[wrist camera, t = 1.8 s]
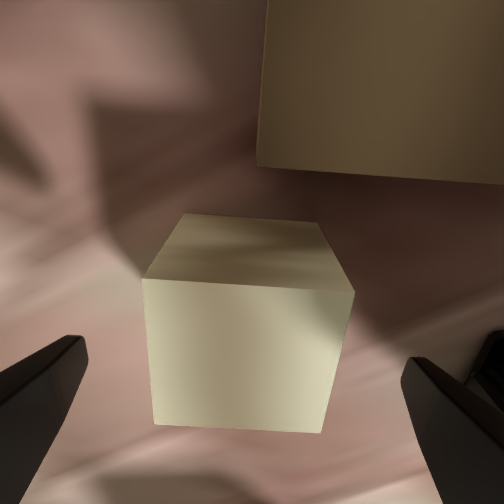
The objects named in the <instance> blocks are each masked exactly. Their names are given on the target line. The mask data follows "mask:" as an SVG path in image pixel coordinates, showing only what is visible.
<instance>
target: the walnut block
mask: <svg viewBox="0 0 504 504" xmlns="http://www.w3.org/2000/svg"><path fill="white" fill-rule="evenodd" d="M256 164H257V167H268V168H282V169H295V170H308V171H322V172H335V173H349V174H362V175H375V176H389V177H402V178H416V179H429V180H442V181H456V182H469V183H483V184H496V185H504V0H267V4H266V17H265V31H264V44H263V58H262V72H261V85H260V99H259V112H258V126H257V139H256Z"/></svg>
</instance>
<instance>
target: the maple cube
mask: <svg viewBox="0 0 504 504" xmlns="http://www.w3.org/2000/svg"><path fill="white" fill-rule="evenodd" d="M141 279H142V290H143V302H144V313H145V325H146V336H147V348H148V359H149V371H150V382H151V394H152V405H153V417H154V424H158V425H177V426H195V427H214V428H232V429H251V430H269V431H288V432H306V433H321V429H322V425H323V421H324V417H325V413H326V409H327V405H328V401H329V397H330V393H331V389H332V385H333V381H334V377H335V373H336V369H337V365H338V361H339V357H340V353H341V349H342V345H343V340H344V336H345V332H346V328H347V324H348V320H349V316H350V312H351V308H352V304H353V300H354V296H355V291H354V289H353V287H352V285H351V283H350V282H349V280H348V278H347V276H346V274H345V272H344V271H343V269H342V267H341V265H340V263H339V262H338V260H337V258H336V256H335V254H334V252H333V251H332V249H331V247H330V245H329V243H328V241H327V240H326V238H325V236H324V234H323V232H322V230H321V229H320V227H319V225H318V223H317V222H303V221H289V220H275V219H261V218H247V217H233V216H219V215H205V214H191V213H184V214H183V216H182V217H181V219H180V221H179V222H178V224H177V225H176V227H175V228H174V230H173V231H172V233H171V234H170V236H169V237H168V239H167V240H166V242H165V243H164V245H163V246H162V248H161V249H160V251H159V252H158V254H157V255H156V257H155V259H154V260H153V262H152V263H151V265H150V266H149V268H148V269H147V271H146V272H145V274H144V275H143V277H142V278H141Z"/></svg>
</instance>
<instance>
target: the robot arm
mask: <svg viewBox="0 0 504 504" xmlns="http://www.w3.org/2000/svg"><path fill="white" fill-rule="evenodd" d="M87 366H88V353H87V348H86V343H85V339H84V337H83V336H81V335H66V336H64V337H62V338H60V339H58V340H57V341H55V342H53V343H51V344H49V345H48V346H46V347H44V348H42V349H41V350H39V351H37V352H35V353H33V354H32V355H30V356H28V357H26V358H24V359H23V360H21V361H19V362H17V363H16V364H14V365H12V366H10V367H8V368H7V369H5V370H3V371H1V372H0V504H19V503H20V501H21V499H22V498H23V496H24V494H25V492H26V490H27V488H28V487H29V485H30V483H31V481H32V479H33V477H34V476H35V474H36V472H37V470H38V468H39V466H40V465H41V463H42V461H43V459H44V457H45V456H46V454H47V452H48V450H49V448H50V446H51V445H52V443H53V441H54V439H55V437H56V435H57V434H58V432H59V430H60V428H61V426H62V424H63V422H64V420H65V418H66V416H67V413H68V411H69V409H70V406H71V404H72V402H73V399H74V397H75V395H76V392H77V390H78V388H79V385H80V383H81V380H82V378H83V376H84V373H85V371H86V369H87ZM401 388H402V391H403V395H404V398H405V401H406V405H407V408H408V411H409V415H410V418H411V421H412V425H413V428H414V431H415V434H416V437H417V440H418V443H419V446H420V448H421V451H422V453H423V456H424V458H425V461H426V463H427V466H428V468H429V471H430V473H431V475H432V478H433V480H434V483H435V485H436V488H437V490H438V492H439V495H440V497H441V500H442V502H443V504H504V330H500V331H496V332H493V333H492V334H490V335H489V336H488V337H487V339H486V341H485V343H484V345H483V347H482V349H481V351H480V353H479V355H478V357H477V359H476V361H475V363H474V365H473V367H472V369H471V372H470V374H469V376H468V378H467V380H466V382H465V384H464V385H463V384H462V383H460V382H459V381H458V380H456V379H455V378H453V377H452V376H451V375H449V374H448V373H446V372H445V371H444V370H442V369H441V368H439V367H438V366H437V365H435V364H434V363H432V362H431V361H430V360H428V359H427V358H424V357H409V358H408V360H407V362H406V365H405V368H404V371H403V373H402V376H401Z"/></svg>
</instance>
